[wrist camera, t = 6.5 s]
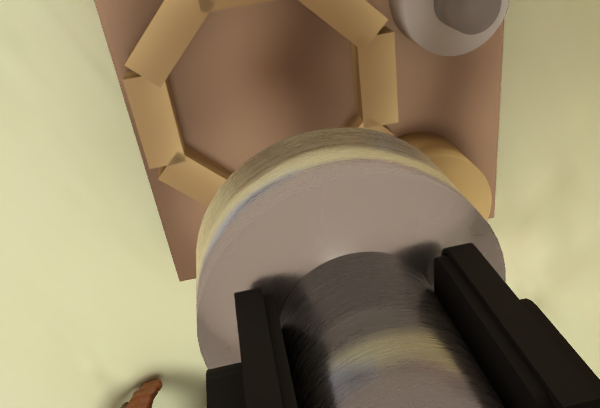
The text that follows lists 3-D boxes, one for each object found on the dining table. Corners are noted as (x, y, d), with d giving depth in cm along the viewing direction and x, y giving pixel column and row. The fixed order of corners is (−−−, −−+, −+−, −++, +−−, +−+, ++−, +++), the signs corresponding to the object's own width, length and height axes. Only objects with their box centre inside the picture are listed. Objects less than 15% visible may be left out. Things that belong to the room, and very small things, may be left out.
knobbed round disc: (459, 102, 12) (765, 334, 6) (456, 323, 15) (647, 631, 9) (165, 157, 11) (132, 484, 5) (225, 375, 15) (251, 743, 8)
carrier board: (487, -98, 24) (567, -97, 19) (477, 199, 31) (533, 259, 26) (93, -35, 23) (63, -15, 18) (180, 259, 30) (177, 334, 25)
